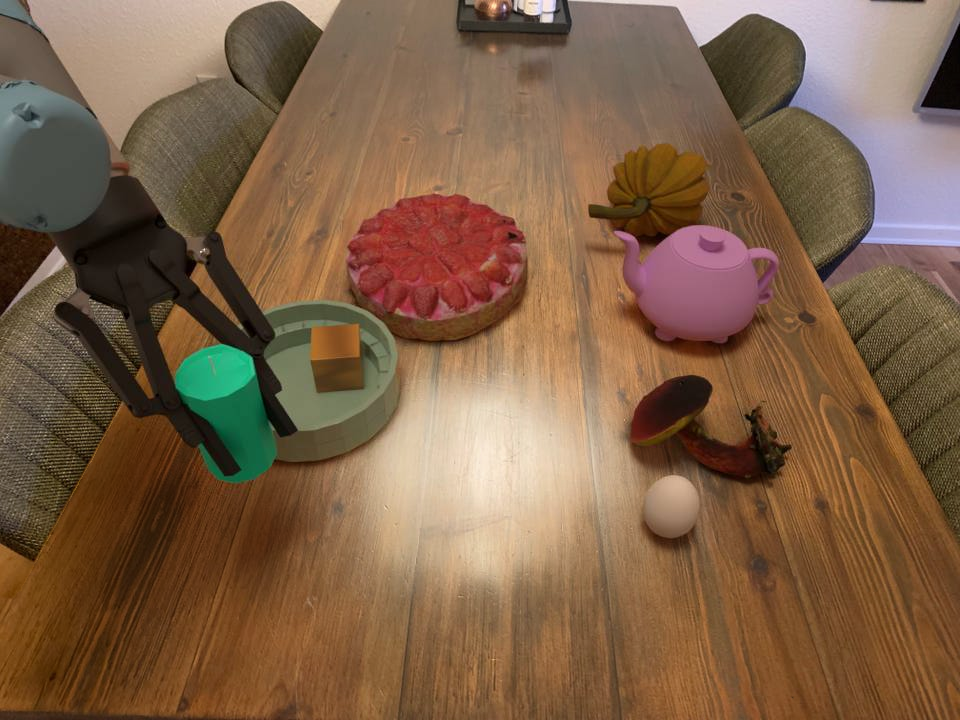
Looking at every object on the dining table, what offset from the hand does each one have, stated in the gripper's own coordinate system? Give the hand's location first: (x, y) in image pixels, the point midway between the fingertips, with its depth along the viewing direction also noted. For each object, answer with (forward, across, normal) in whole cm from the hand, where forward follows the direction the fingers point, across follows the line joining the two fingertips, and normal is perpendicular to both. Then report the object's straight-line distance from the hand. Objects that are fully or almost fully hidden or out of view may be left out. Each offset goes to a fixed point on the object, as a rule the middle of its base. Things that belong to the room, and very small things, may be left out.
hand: (261, 452), depth 57 cm
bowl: (+1, -15, -23) cm, 27 cm away
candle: (0, 0, -6) cm, 6 cm away
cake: (-2, -40, -26) cm, 48 cm away
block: (+1, -19, -22) cm, 29 cm away
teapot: (+18, -57, -5) cm, 60 cm away
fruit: (+7, -72, -16) cm, 74 cm away
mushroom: (+28, -40, +4) cm, 49 cm away
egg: (+29, -28, +6) cm, 41 cm away
